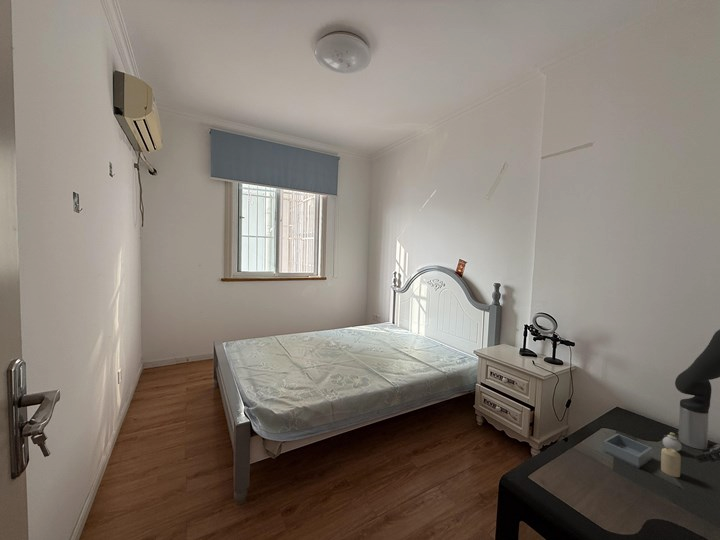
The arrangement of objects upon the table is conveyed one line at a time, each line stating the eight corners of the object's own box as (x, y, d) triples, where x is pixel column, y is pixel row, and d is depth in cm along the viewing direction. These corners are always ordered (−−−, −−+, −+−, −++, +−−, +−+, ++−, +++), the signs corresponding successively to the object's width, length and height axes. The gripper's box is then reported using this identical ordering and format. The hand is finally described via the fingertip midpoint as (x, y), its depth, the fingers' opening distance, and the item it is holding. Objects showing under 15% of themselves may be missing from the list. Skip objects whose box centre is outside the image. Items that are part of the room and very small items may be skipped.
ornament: (664, 444, 141) (664, 424, 141) (686, 452, 135) (687, 431, 135) (661, 449, 138) (661, 428, 137) (684, 457, 131) (685, 435, 131)
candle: (684, 478, 118) (684, 454, 118) (668, 476, 120) (668, 452, 119) (672, 469, 124) (673, 446, 124) (657, 467, 125) (658, 444, 125)
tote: (617, 443, 141) (617, 433, 141) (652, 459, 130) (652, 448, 130) (602, 451, 135) (603, 440, 135) (638, 468, 124) (638, 457, 124)
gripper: (744, 427, 109) (697, 440, 120) (733, 437, 103) (684, 450, 113) (767, 449, 105) (717, 461, 115) (757, 461, 98) (705, 472, 109)
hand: (701, 456), depth 114 cm, fingers open, 8 cm apart
